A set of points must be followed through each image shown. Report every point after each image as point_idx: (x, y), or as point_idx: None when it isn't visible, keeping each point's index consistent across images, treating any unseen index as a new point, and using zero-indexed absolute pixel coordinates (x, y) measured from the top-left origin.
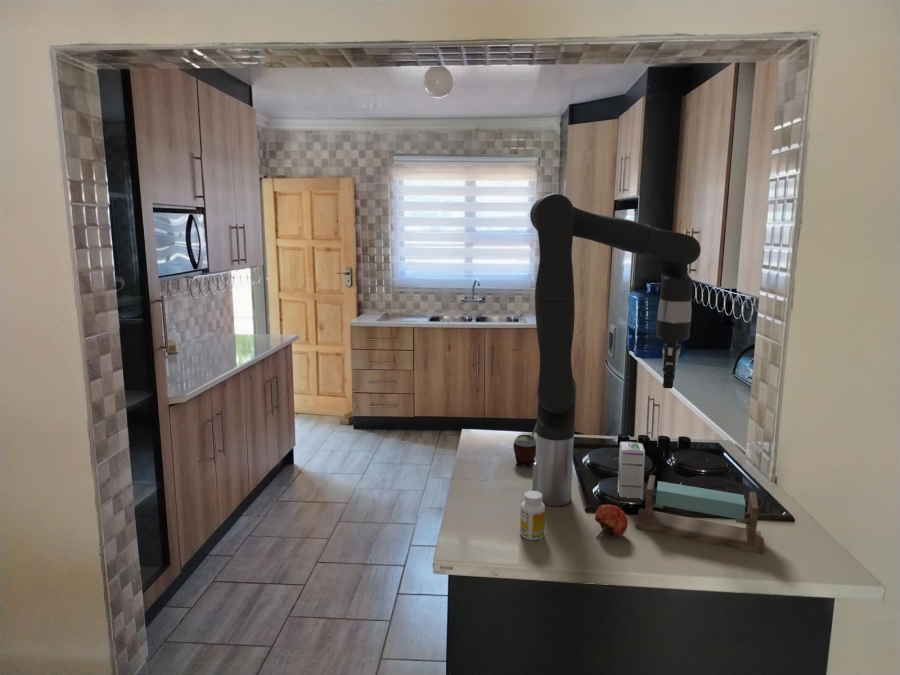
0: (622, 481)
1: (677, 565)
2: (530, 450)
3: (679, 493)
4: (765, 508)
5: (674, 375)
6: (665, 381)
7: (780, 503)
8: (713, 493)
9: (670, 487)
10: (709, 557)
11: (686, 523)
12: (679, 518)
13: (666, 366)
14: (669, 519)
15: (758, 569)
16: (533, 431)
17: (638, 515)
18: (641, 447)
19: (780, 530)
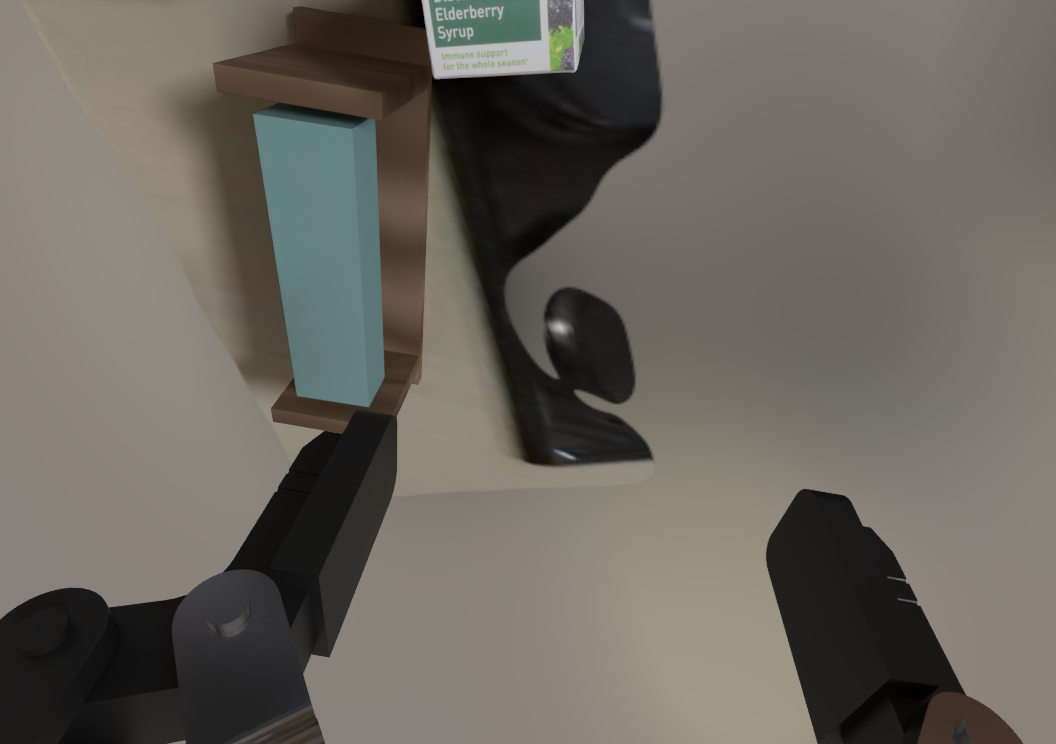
0: None
1: (144, 139)
2: None
3: (271, 208)
4: (581, 425)
5: (776, 597)
6: (287, 482)
7: (621, 463)
8: (334, 326)
9: (310, 178)
10: (240, 235)
11: (378, 202)
12: (403, 184)
13: (873, 651)
14: (383, 147)
15: (251, 334)
16: None
17: (364, 23)
18: (492, 60)
19: (466, 424)
